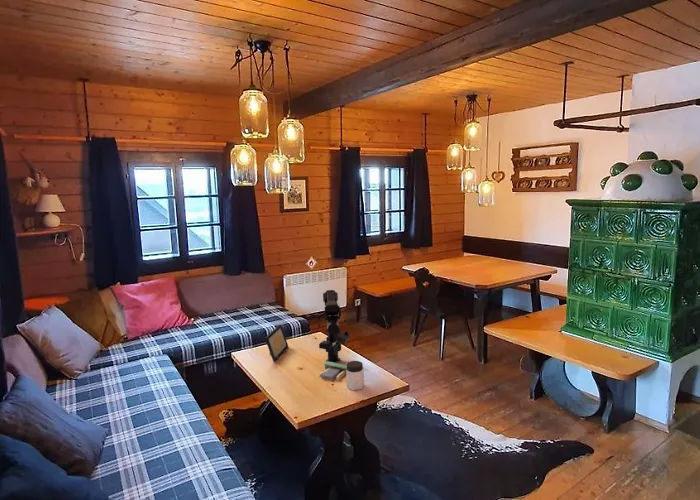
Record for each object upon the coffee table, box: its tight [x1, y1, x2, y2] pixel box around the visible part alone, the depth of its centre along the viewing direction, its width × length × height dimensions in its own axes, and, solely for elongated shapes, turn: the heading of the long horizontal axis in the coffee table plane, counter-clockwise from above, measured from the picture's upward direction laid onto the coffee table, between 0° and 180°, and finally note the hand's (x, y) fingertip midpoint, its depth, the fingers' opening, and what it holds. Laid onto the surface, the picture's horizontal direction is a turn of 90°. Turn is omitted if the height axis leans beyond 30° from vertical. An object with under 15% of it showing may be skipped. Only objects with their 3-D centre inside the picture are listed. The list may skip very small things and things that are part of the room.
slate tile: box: [321, 367, 342, 382], centre depth 234 cm, size 12×6×2 cm, turn 153°
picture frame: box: [264, 324, 289, 363], centre depth 265 cm, size 23×9×15 cm, turn 168°
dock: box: [319, 361, 347, 382], centre depth 235 cm, size 12×16×4 cm
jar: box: [345, 360, 365, 391], centre depth 219 cm, size 9×8×12 cm
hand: (334, 355), depth 229 cm, fingers closed
